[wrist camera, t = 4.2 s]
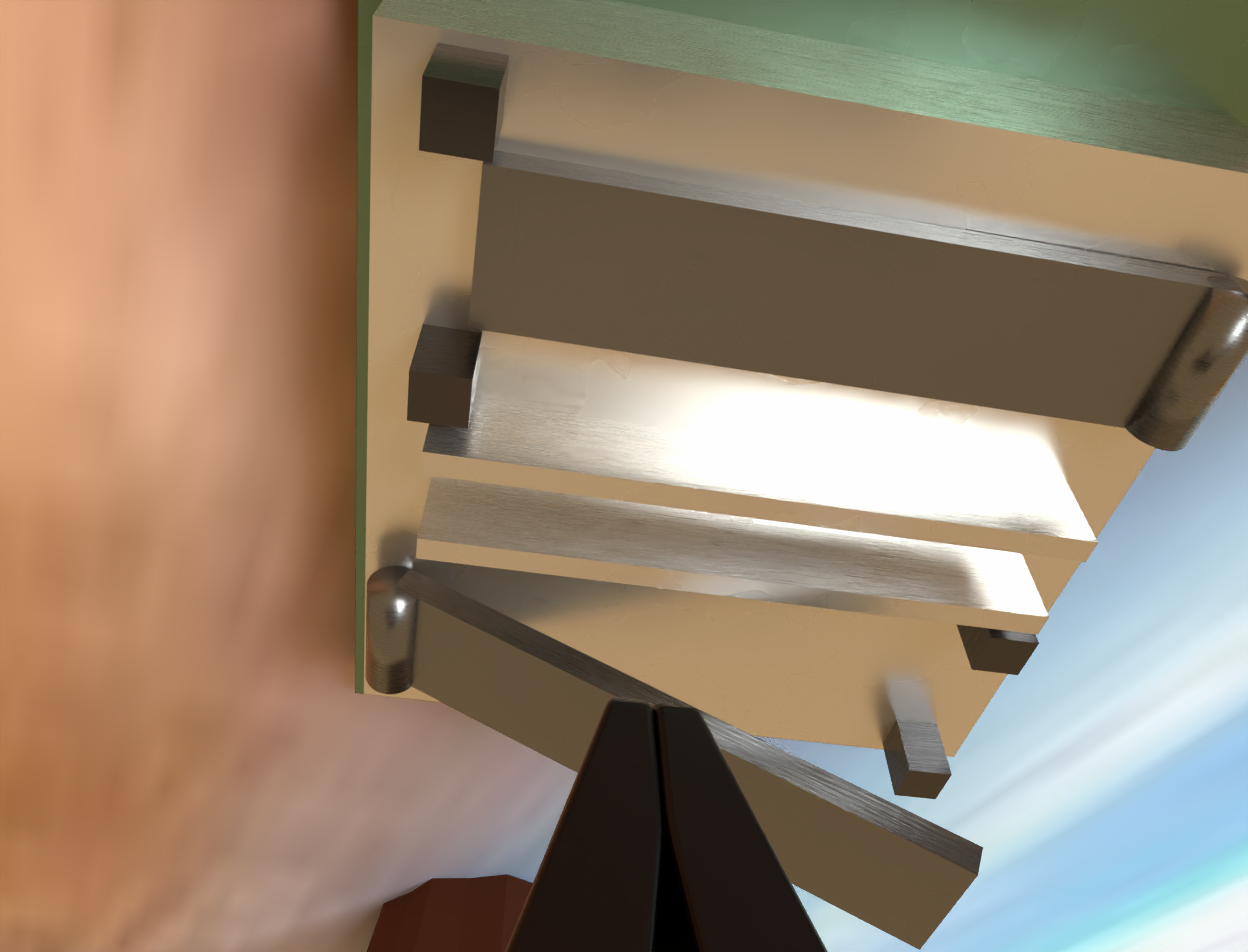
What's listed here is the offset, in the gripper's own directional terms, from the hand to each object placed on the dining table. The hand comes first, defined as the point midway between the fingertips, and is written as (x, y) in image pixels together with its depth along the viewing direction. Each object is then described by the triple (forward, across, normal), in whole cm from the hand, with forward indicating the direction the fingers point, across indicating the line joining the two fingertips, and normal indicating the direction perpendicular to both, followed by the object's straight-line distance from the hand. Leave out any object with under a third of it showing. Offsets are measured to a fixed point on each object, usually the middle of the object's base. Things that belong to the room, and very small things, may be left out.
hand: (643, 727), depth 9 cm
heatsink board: (+13, -3, +4) cm, 14 cm away
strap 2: (+6, -2, +9) cm, 11 cm away
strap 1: (+9, -4, 0) cm, 10 cm away
